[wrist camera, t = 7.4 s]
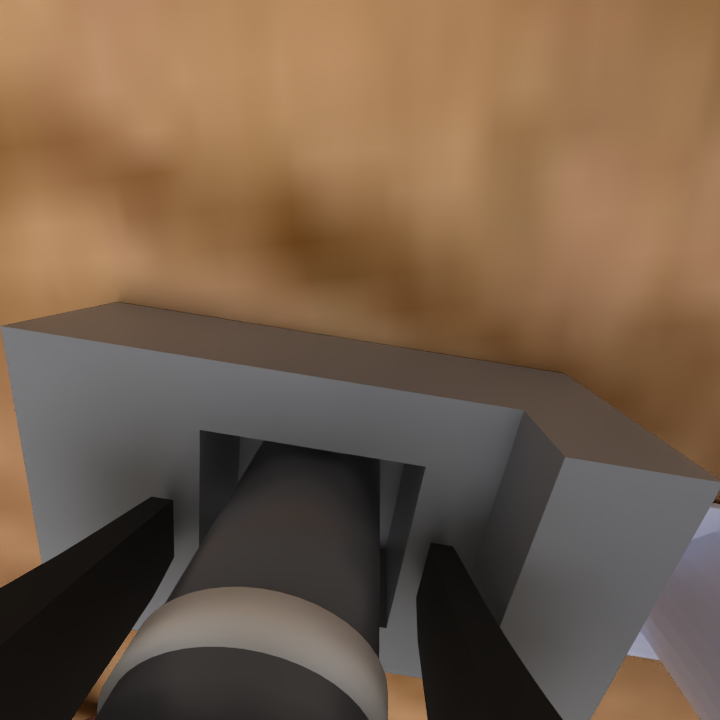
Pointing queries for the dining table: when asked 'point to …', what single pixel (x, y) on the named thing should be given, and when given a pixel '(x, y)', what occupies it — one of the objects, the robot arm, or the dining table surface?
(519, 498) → the camera body
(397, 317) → the dining table surface
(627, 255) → the dining table surface
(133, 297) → the dining table surface
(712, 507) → the robot arm
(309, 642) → the lens
